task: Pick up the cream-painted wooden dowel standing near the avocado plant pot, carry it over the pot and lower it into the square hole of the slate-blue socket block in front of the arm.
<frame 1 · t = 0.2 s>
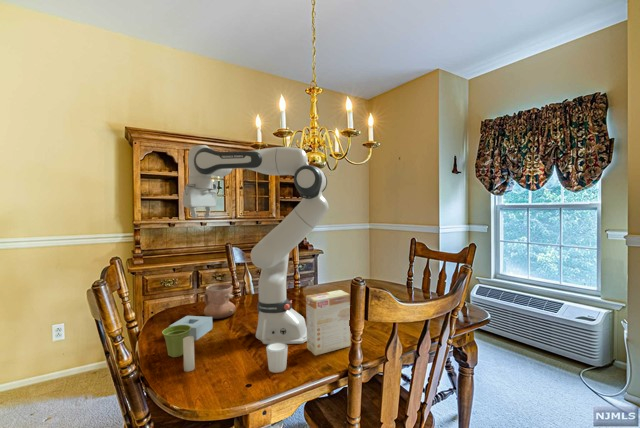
hand: (201, 218, 131), 48 cm above the table, fingers open, 8 cm apart
shot glass: (277, 368, 101), on the table
dowel: (189, 368, 101), on the table
plant pot: (177, 354, 112), on the table
coffeecake box: (328, 347, 115), on the table
socket block: (191, 333, 130), on the table
ceramic jug: (219, 316, 150), on the table
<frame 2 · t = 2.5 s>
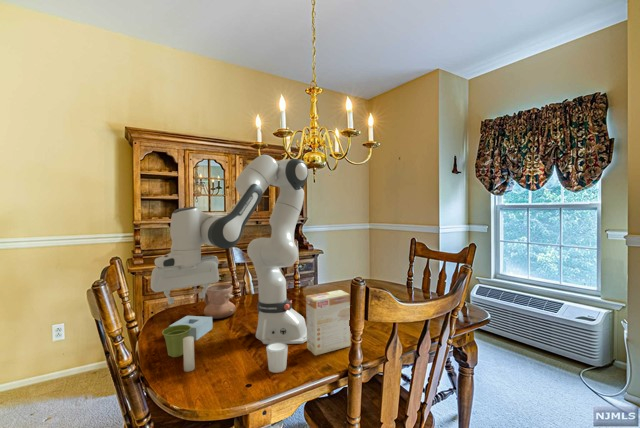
hand: (187, 300, 100), 22 cm above the table, fingers open, 8 cm apart
nothing on the table moved.
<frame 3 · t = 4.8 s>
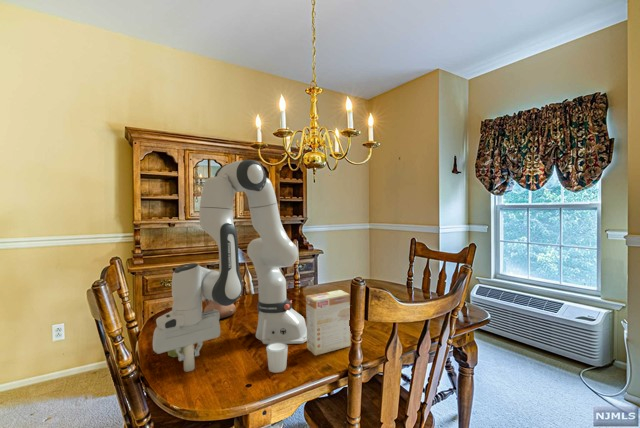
hand: (188, 357, 101), 4 cm above the table, fingers closed on dowel, 3 cm apart
dowel: (189, 368, 101), on the table, touching gripper
everything else where it was.
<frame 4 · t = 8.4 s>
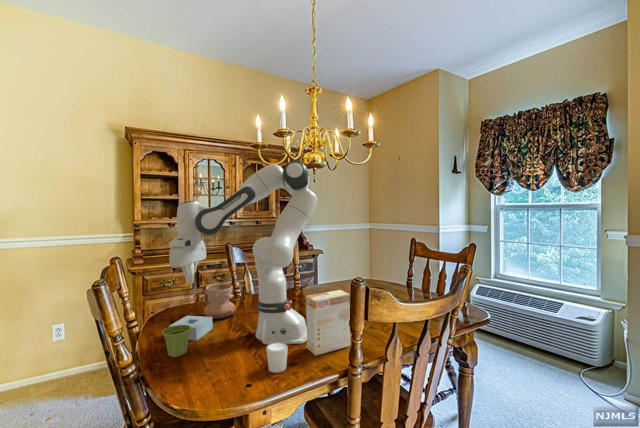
hand: (189, 274, 129), 25 cm above the table, fingers closed on dowel, 3 cm apart
dowel: (190, 282, 129), point 21 cm above the table, touching gripper
everything else where it was.
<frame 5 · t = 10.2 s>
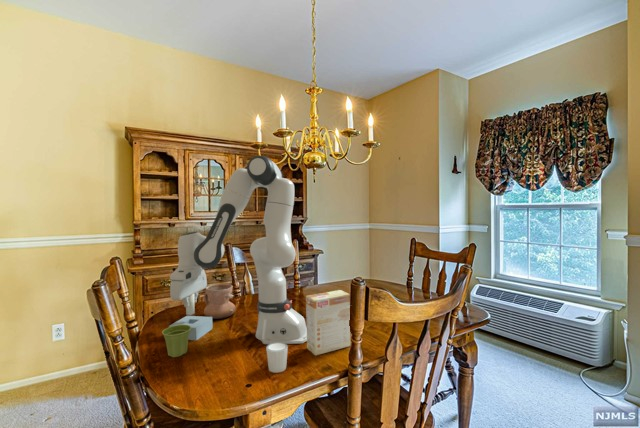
hand: (190, 304, 129), 12 cm above the table, fingers closed on dowel, 3 cm apart
dowel: (190, 313, 129), point 8 cm above the table, touching gripper
everything else where it was.
when the fingers open (7 cm above the table, at t = 11.9 s): dowel drops 3 cm, resting in socket block.
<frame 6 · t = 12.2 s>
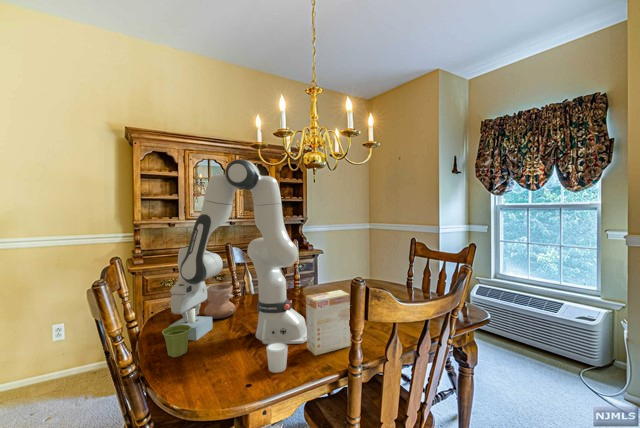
hand: (191, 317, 129), 7 cm above the table, fingers open, 5 cm apart
dowel: (191, 333, 130), resting in socket block
everything else where it was.
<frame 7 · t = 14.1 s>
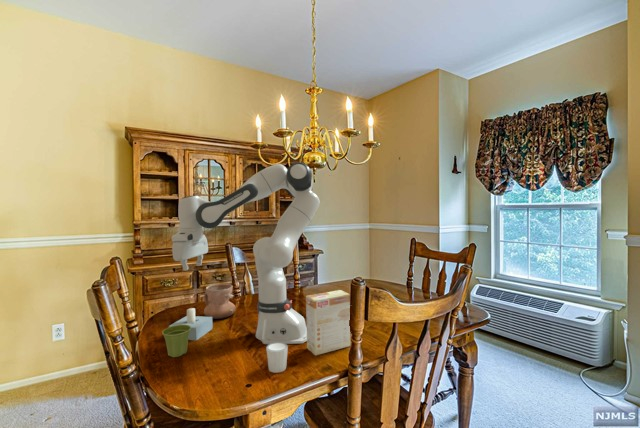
hand: (192, 267, 131), 27 cm above the table, fingers open, 8 cm apart
nothing on the table moved.
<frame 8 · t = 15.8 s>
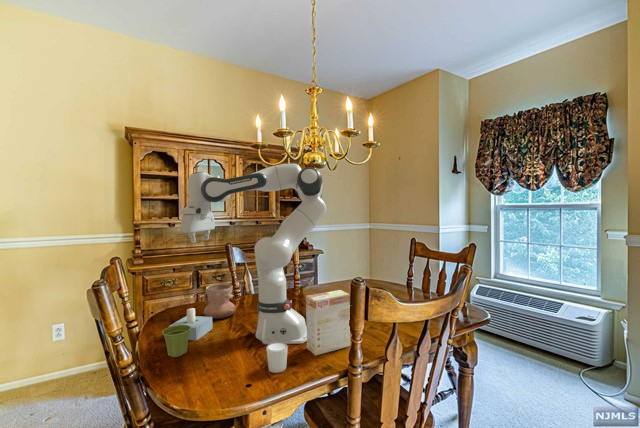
hand: (200, 241, 136), 37 cm above the table, fingers open, 8 cm apart
nothing on the table moved.
at the end: dowel 0.0 cm off-centre on the socket block, point 0.0 cm above the socket block's base; dowel tilted 0°; the gripper is holding nothing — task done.
